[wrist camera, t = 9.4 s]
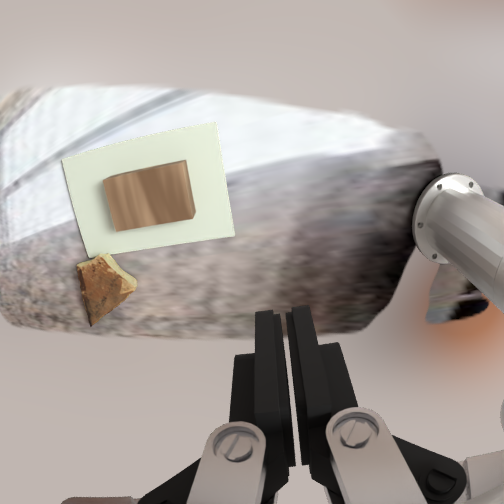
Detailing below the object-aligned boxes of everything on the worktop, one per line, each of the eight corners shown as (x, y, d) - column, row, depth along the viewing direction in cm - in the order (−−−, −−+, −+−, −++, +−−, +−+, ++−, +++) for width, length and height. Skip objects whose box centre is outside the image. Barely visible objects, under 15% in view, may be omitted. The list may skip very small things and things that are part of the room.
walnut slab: (181, 163, 31) (102, 180, 31) (192, 218, 34) (116, 232, 34) (186, 159, 33) (111, 175, 34) (196, 211, 36) (123, 224, 36)
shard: (93, 320, 42) (90, 328, 41) (55, 286, 39) (50, 293, 37) (140, 283, 40) (138, 291, 38) (98, 242, 37) (94, 249, 35)
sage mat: (216, 121, 32) (216, 121, 32) (234, 234, 38) (234, 236, 37) (64, 158, 33) (61, 159, 32) (90, 256, 38) (88, 257, 38)
